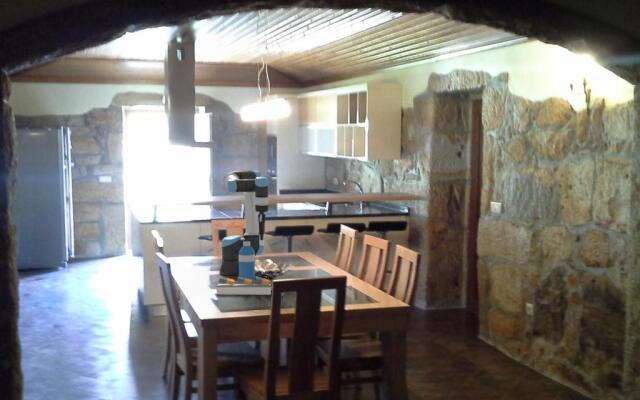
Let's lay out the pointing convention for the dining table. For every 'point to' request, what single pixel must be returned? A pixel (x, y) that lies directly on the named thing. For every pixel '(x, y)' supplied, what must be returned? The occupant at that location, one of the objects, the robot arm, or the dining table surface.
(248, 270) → the water bottle
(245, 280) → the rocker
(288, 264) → the dining table surface
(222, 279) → the rocker
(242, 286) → the power strip
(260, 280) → the rocker
